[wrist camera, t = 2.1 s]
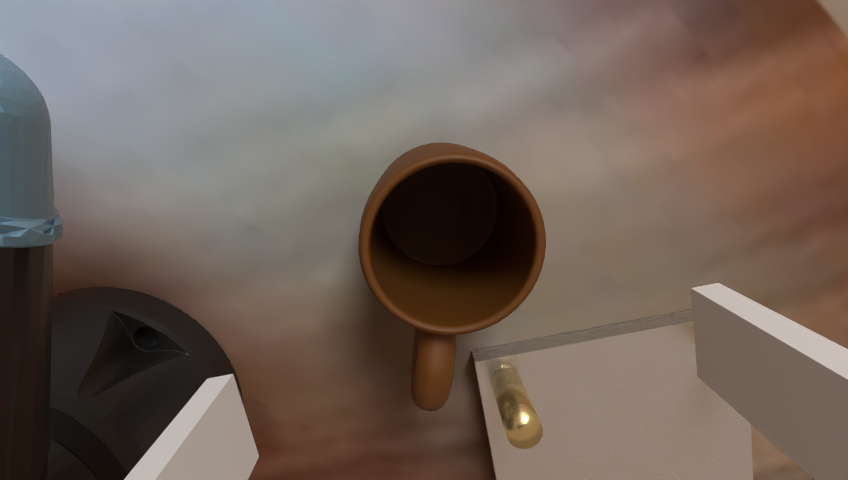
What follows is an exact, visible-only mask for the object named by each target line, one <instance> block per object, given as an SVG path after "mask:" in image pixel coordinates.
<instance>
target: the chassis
mask: <svg viewBox="0 0 848 480" xmlns="http://www.w3.org/2000/svg"><path fill="white" fill-rule="evenodd" d="M472 354H473V360H474V365H475V371H476V376H477V381H478V387H479V392H480V398H481V403H482V409H483V414H484V419H485V425H486V430H487V436H488V441H489V446H490V452H491V457H492V463H493V468H494V473H495V479H496V480H753V468H752V444H751V423H749V422H748V421H747V420H746V419H745V418H744V417H743V416H742V415H740V414H739V413H738V412H737V411H736V410H735V409H734V408H732V407H731V406H730V405H729V404H728V403H727V402H726V401H725V400H723V399H722V398H721V397H720V396H719V395H718V394H717V393H716V392H714V391H713V390H712V389H711V388H710V387H709V386H708V385H706V384H705V383H704V382H703V381H702V380H701V379H700V378H699V377H697V364H696V350H695V336H694V321H693V309H690V310H685V311H680V312H675V313H669V314H664V315H659V316H653V317H648V318H643V319H637V320H632V321H627V322H622V323H616V324H611V325H606V326H600V327H595V328H590V329H584V330H579V331H574V332H568V333H563V334H558V335H553V336H547V337H542V338H537V339H531V340H526V341H521V342H515V343H510V344H505V345H500V346H494V347H489V348H484V349H478V350H473V351H472Z"/></svg>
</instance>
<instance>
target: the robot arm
mask: <svg viewBox="0 0 848 480" xmlns="http://www.w3.org/2000/svg"><path fill="white" fill-rule="evenodd" d="M62 231H63V219H62V218H61V217H60V215H59V213H58V211H57V209H56V208H55V207H54V192H53V168H52V145H51V122H50V116H49V112H48V108H47V105H46V103H45V100H44V98H43V96H42V94H41V92H40V91H39V89H38V88H37V86H36V85H35V84H34V83H33V81H32V80H31V79H30V78H29V77H28V76H27V75H26V74H25V72H24V71H22V70H21V69H20V68H19V67H18V66H16V65H15V64H14V63H13V62H12V61H10V60H9V59H7V58H6V57H4V56H3V55H1V54H0V480H248V478H249V476H250V474H251V472H252V470H253V468H254V466H255V464H256V462H257V459H258V457H259V455H258V452H257V448H256V445H255V442H254V439H253V436H252V432H251V429H250V426H249V423H248V420H247V416H246V413H245V410H244V407H243V403H242V396H241V390H240V386H239V383H238V379H237V377H236V374H235V371H234V369H233V367H232V365H231V363H230V361H229V359H228V357H227V356H226V354H225V353H224V351H223V349H222V348H221V347H220V345H219V344H218V343H217V341H216V340H215V339H214V338H213V337H212V336H211V335H210V333H209V332H208V331H207V330H206V329H205V328H203V327H202V326H201V325H200V324H199V323H198V322H197V321H195V320H194V319H193V318H191V317H190V316H189V315H187V314H186V313H184V312H183V311H181V310H180V309H178V308H176V307H174V306H173V305H171V304H169V303H167V302H165V301H163V300H160V299H158V298H155V297H153V296H150V295H147V294H144V293H140V292H136V291H132V290H127V289H120V288H108V287H94V288H83V289H77V290H72V291H68V292H64V293H61V294H58V295H56V296H53V297H52V274H53V242H54V241H56V240H57V239H59V238H60V237H61V236H62ZM691 293H692V307H693V321H694V336H695V350H696V364H697V377H699V378H700V379H701V380H702V381H703V382H704V383H705V384H706V385H708V386H709V387H710V388H711V389H712V390H713V391H714V392H716V393H717V394H718V395H719V396H720V397H721V398H722V399H723V400H725V401H726V402H727V403H728V404H729V405H730V406H731V407H732V408H734V409H735V410H736V411H737V412H738V413H739V414H740V415H742V416H743V417H744V418H745V419H746V420H747V421H748V422H749V423H751V424H752V425H753V426H754V427H755V428H756V429H757V430H759V431H760V432H761V433H762V434H763V435H764V436H765V437H766V438H768V439H769V440H770V441H771V442H772V443H773V444H774V445H775V446H777V447H778V448H779V449H780V450H781V451H782V452H783V453H785V454H786V455H787V456H788V457H789V458H790V459H791V460H792V461H794V462H795V463H796V464H797V465H798V466H799V467H800V468H802V469H803V470H804V471H805V472H806V473H807V474H808V475H809V476H811V477H812V478H813V479H814V480H848V349H846V348H844V347H842V346H840V345H838V344H836V343H834V342H832V341H830V340H828V339H827V338H825V337H823V336H821V335H819V334H817V333H815V332H813V331H811V330H809V329H807V328H805V327H803V326H801V325H799V324H797V323H795V322H793V321H791V320H790V319H788V318H786V317H784V316H782V315H780V314H778V313H776V312H774V311H772V310H770V309H768V308H766V307H764V306H762V305H760V304H758V303H756V302H755V301H753V300H751V299H749V298H747V297H745V296H743V295H741V294H739V293H737V292H735V291H733V290H731V289H729V288H727V287H725V286H723V285H721V284H720V283H716V284H711V285H705V286H700V287H695V288H691Z"/></svg>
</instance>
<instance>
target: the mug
mask: <svg viewBox="0 0 848 480" xmlns="http://www.w3.org/2000/svg"><path fill="white" fill-rule="evenodd" d="M545 248H546V235H545V228H544V222H543V218H542V215H541V212H540V209H539V207H538V205H537V203H536V201H535V199H534V197H533V196H532V194H531V193H530V191H529V189H528V188H527V187H526V186H525V185H524V184H523V182H522V181H521V180H520V179H519V178H518V177H517V176H516V175H515V174H514V173H513V172H512V171H511V170H510V169H508V168H507V167H506V166H505V165H503V164H502V163H500V162H499V161H497V160H496V159H494V158H492V157H490V156H488V155H486V154H484V153H482V152H479V151H476V150H474V149H471V148H468V147H465V146H461V145H457V144H451V143H431V144H426V145H422V146H419V147H416V148H414V149H412V150H410V151H408V152H406V153H404V154H403V155H401V156H400V157H399V158H397V159H396V160H395V161H394V162H393V163H392V164H391V165H390V166H389V167H388V168H387V170H386V171H385V172H384V174H383V175H382V176H381V178H380V179H379V181H378V182H377V184H376V186H375V187H374V189H373V191H372V192H371V194H370V196H369V198H368V201H367V203H366V205H365V208H364V212H363V215H362V219H361V225H360V234H359V256H360V263H361V267H362V271H363V274H364V276H365V279H366V281H367V284H368V286H369V287H370V289H371V291H372V293H373V294H374V296H375V297H376V298H377V300H378V301H379V302H380V303H381V304H382V305H383V306H384V307H385V308H386V309H387V310H388V311H389V312H390V313H391V314H392V315H394V316H395V317H396V318H398V319H399V320H401V321H403V322H404V323H406V324H408V325H410V326H413V327H415V336H414V346H413V358H412V374H411V393H412V399H413V400H414V402H415V404H416V405H417V406H418V407H420V408H421V409H423V410H426V411H435V410H437V409H439V408H441V407H442V406H443V405H444V404H445V403H446V401H447V400H448V397H449V393H450V389H451V384H452V378H453V370H454V358H455V346H456V334H465V333H470V332H475V331H478V330H481V329H484V328H487V327H489V326H491V325H493V324H495V323H497V322H499V321H501V320H502V319H504V318H505V317H507V316H508V315H509V314H511V313H512V312H513V311H514V310H515V309H517V308H518V307H519V305H520V304H521V303H522V302H523V301H524V300H525V299H526V297H527V296H528V295H529V293H530V292H531V291H532V289H533V287H534V285H535V283H536V281H537V280H538V277H539V274H540V272H541V269H542V266H543V261H544V257H545Z"/></svg>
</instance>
